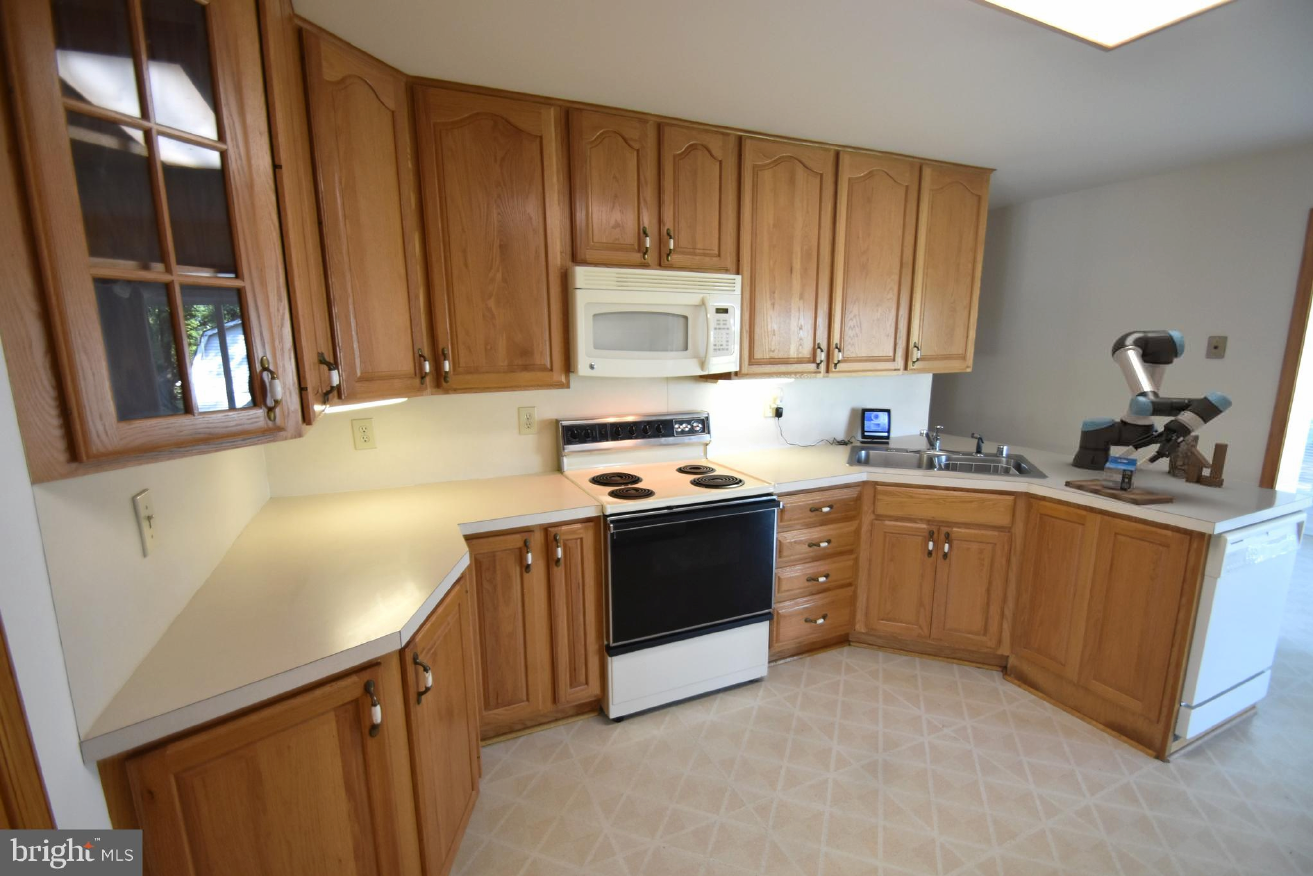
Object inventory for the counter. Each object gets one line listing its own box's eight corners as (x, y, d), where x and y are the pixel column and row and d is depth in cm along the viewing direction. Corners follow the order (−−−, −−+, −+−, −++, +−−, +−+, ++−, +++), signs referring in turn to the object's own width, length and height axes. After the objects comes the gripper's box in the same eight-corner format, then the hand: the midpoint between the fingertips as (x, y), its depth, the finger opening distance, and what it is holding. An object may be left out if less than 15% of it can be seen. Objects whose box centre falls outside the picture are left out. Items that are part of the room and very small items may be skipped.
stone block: (1194, 479, 228) (1202, 434, 225) (1173, 478, 231) (1180, 432, 228) (1181, 473, 240) (1189, 429, 237) (1161, 471, 243) (1168, 428, 240)
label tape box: (1100, 486, 208) (1105, 456, 206) (1104, 485, 211) (1108, 455, 209) (1130, 491, 201) (1135, 460, 199) (1133, 490, 204) (1138, 458, 202)
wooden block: (1190, 481, 226) (1197, 439, 223) (1223, 487, 216) (1231, 444, 213) (1184, 481, 225) (1192, 440, 222) (1216, 488, 215) (1225, 444, 212)
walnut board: (1064, 485, 218) (1065, 480, 218) (1096, 483, 221) (1096, 478, 221) (1138, 505, 191) (1139, 499, 191) (1172, 502, 194) (1173, 497, 194)
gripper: (1153, 414, 210) (1103, 449, 216) (1200, 423, 186) (1142, 462, 192) (1167, 427, 210) (1116, 462, 216) (1215, 439, 186) (1157, 478, 192)
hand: (1128, 463), depth 204 cm, fingers open, 13 cm apart
